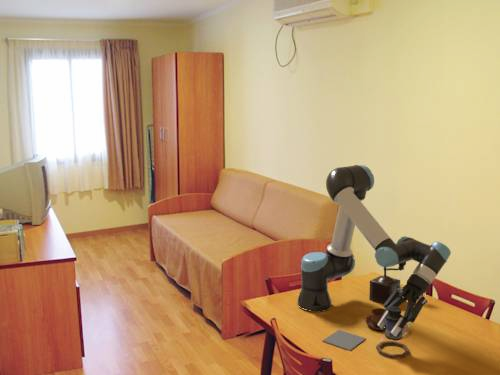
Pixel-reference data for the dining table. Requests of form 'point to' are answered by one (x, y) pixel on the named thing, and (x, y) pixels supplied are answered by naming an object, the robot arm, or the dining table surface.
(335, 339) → the mat
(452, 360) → the dining table surface
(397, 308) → the pill bottle
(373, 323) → the cup and saucer
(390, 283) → the manual coffee grinder
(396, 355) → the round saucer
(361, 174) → the robot arm
